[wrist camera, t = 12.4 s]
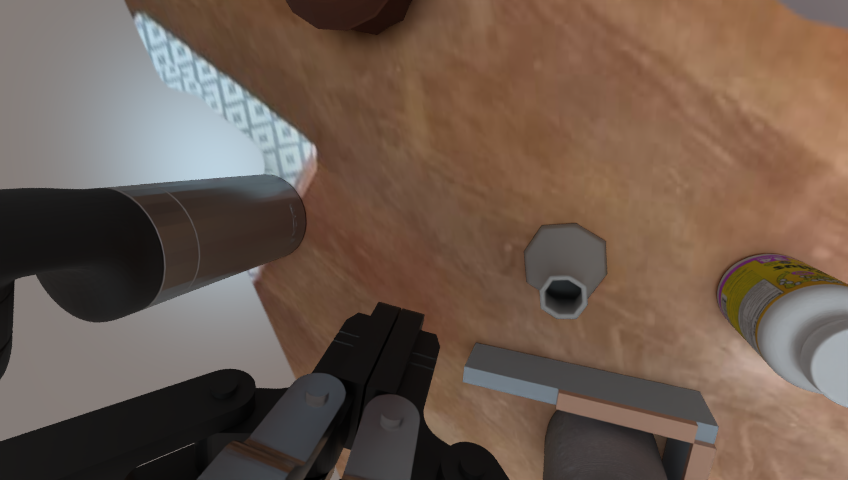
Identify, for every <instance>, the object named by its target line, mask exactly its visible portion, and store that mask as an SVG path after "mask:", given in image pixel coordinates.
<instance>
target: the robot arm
mask: <svg viewBox="0 0 848 480" xmlns="http://www.w3.org/2000/svg"><path fill="white" fill-rule="evenodd" d="M305 225H306V219H305V211H304V208H303V204H302V202H301V200H300V198H299V196H298V194H297V193H296V191H295V190H294V189H293V188H292V187H291V186H290V185H289V184H288V183H287V182H286V181H284V180H282V179H281V178H279V177H276V176H273V175H266V174H264V175H252V176H238V177H225V178H213V179H201V180H190V181H178V182H166V183H154V184H141V185H131V186H119V187H108V188H94V189H54V188H19V189H2V190H0V379H1V377H2V376H3V375H4V373H5V371H6V368H7V365H8V362H9V359H10V354H11V349H12V333H13V331H12V328H13V309H14V307H13V306H14V281H15V279H18V278H21V277H25V276H30V275H35V274H36V276H37V278H38V279H39V281H40V283H41V284H42V286H43V287H44V289H45V290H46V291H47V293H48V294H49V295H50V297H51V298H52V299H53V300H54V301H55V302H56V303H57V304H58V305H59V306H60V307H61V308H63V309H64V310H65V311H67V312H68V313H70V314H71V315H73V316H75V317H77V318H79V319H82V320H85V321H89V322H108V321H112V320H116V319H119V318H122V317H125V316H127V315H130V314H132V313H135V312H138V311H140V310H143V309H146V308H148V307H151V306H154V305H157V304H159V303H162V302H164V301H167V300H170V299H172V298H175V297H177V296H180V295H182V294H185V293H188V292H190V291H193V290H196V289H199V288H201V287H204V286H206V285H209V284H212V283H214V282H217V281H220V280H222V279H225V278H228V277H230V276H233V275H236V274H238V273H241V272H244V271H246V270H249V269H252V268H254V267H257V266H260V265H263V264H265V263H268V262H271V261H273V260H276V259H278V258H281V257H284V256H286V255H288V254H290V253H291V252H293V251H294V250H295V249H296V248H297V247H298V246H299V244H300V242H301V241H302V238H303V235H304V232H305ZM424 316H425V314H421V313H418V312H414V311H411V310H407V309H402V310H401V308H400V307H396V306H392V305H389V304H385V303H382V302H378V304H377V306H376V307H375V309H374V311H373V313H372V314H371V316H369V315H365V314H362V313H357V314H355V315H354V316H352V317H350V318H349V319H347V320H346V321H345V323H344V324H343V326H342V327H341V329H340V330H339V333H338V334H337V335H336V337H335V338H334V340H333V341H332V343H331V344H330V346H329V347H328V349H327V350H326V352H325V354H324V355H323V357H322V358H321V360H320V361H319V363H318V364H317V366H316V367H315V369H314V371H313V372H312V373H311V374H307V375H304V376H302V377H300V378H298V379H297V380H296V381H295V382H294V383H293V384H292V385H291V386H290V387H288V388H282V389H269V388H268V389H267V388H256V386H255V381H254V379H253V378H252V377H251V376H250V375H249V374H248V373H246V372H244V371H241V370H236V369H223V370H218V371H214V372H211V373H208V374H205V375H202V376H199V377H196V378H193V379H190V380H187V381H184V382H181V383H178V384H175V385H172V386H168V387H165V388H163V389H160V390H156V391H153V392H150V393H147V394H144V395H141V396H138V397H135V398H132V399H129V400H126V401H123V402H120V403H116V404H114V405H110V406H107V407H104V408H101V409H98V410H95V411H92V412H89V413H86V414H83V415H80V416H77V417H74V418H71V419H68V420H64V421H61V422H58V423H56V424H52V425H49V426H46V427H43V428H40V429H37V430H34V431H31V432H28V433H25V434H22V435H19V436H15V437H12V438H10V439H6V440H3V441H0V480H330V479H331V477H332V475H333V473H334V468H335V465H336V463H337V461H338V459H339V456H340V454H341V452H342V450H343V448H346V449H350V450H351V452H350V455H349V458H348V461H347V465H346V468H345V471H344V474H343V476H342V479H339V480H509V478H508V477H507V475H506V474H505V472H504V471H503V469H502V468H501V466H500V465H499V463H498V462H497V460H496V459H495V457H494V456H493V455H492V454H491V453H490V452H489V451H488V450H486V449H485V448H483V447H482V446H480V445H477V444H475V443H471V442H459V443H455V444H453V445H451V446H450V445H448V444H447V443H445V442H444V441H442V440H440V439H439V438H438V437H436V436H435V435H434V434H433V433H432V432H431V430H430V429H429V428H428V426H427V424H426V422H425V420H424V413H423V411H424V406H425V402H426V399H427V395H428V391H429V387H430V384H431V380H432V376H433V372H434V368H435V364H436V361H437V357H438V353H439V349H440V345H439V342H438V338H437V335H436V334H432V333H429V332H425V331H422V330H421V329H422V325H423V321H424ZM192 443H194V444H192ZM190 444H192V445H190ZM187 445H190V446H187ZM185 446H187V447H185ZM182 447H185V448H182ZM180 448H182V449H180ZM178 449H180V450H178ZM175 450H178V451H175ZM173 451H175V452H173ZM170 452H173V453H170ZM168 453H170V454H168ZM166 454H168V455H166ZM163 455H166V456H163ZM161 456H163V457H161ZM158 457H161V458H159V459H156V458H158ZM154 459H156V460H154ZM151 460H154V461H152V462H149V461H151ZM146 462H149V463H147V464H145V465H142V466H139V465H141V464H144V463H146ZM138 466H139V467H138ZM136 467H137V468H136Z"/></svg>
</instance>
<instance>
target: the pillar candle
mask: <svg viewBox="0 0 848 480" xmlns="http://www.w3.org/2000/svg"><path fill="white" fill-rule="evenodd" d="M544 454H545V456H544V472H543V480H668V479H667V476H666V473H665V470H664V467H663V464H662V460H661V457H660V454H659V451H658V447H657V444H656V441H655V438H654V436H653V433H649V432H645V431H641V430H637V429H633V428H629V427H625V426H621V425H617V424H613V423H609V422H605V421H601V420H598V419H594V418H590V417H586V416H582V415H578V414H574V413H570V412H566V411H562V410H558V411H556V412H555V414H554V415H553V417H552V418H551V420H550V422H549V425H548V429H547V434H546V437H545V448H544Z"/></svg>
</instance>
